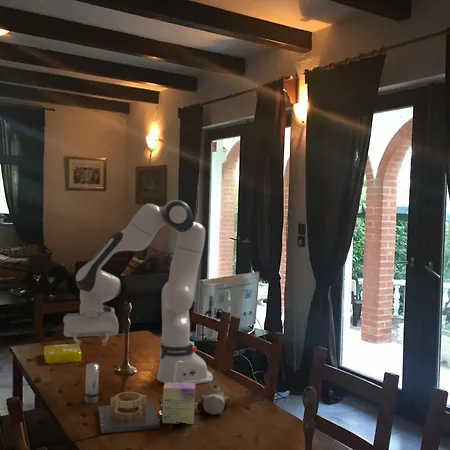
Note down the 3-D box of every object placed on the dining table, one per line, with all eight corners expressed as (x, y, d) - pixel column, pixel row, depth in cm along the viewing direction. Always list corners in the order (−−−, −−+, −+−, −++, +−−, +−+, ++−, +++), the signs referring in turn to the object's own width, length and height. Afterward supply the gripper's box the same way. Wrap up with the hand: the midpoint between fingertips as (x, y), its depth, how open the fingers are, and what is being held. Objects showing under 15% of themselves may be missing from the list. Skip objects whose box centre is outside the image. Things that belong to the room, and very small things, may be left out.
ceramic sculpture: (198, 390, 179) (201, 378, 194) (196, 416, 179) (200, 402, 193) (229, 392, 178) (231, 379, 193) (228, 418, 178) (229, 403, 193)
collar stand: (151, 406, 186) (152, 385, 185) (159, 428, 168) (160, 405, 168) (98, 410, 181) (99, 388, 180) (101, 433, 164) (101, 409, 163)
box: (194, 417, 178) (195, 382, 178) (194, 424, 172) (195, 388, 172) (163, 416, 178) (164, 381, 177) (161, 423, 172) (162, 387, 172)
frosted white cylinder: (98, 398, 192) (98, 362, 191) (98, 403, 187) (99, 366, 187) (84, 399, 190) (85, 363, 190) (85, 403, 186) (85, 367, 185)
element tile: (77, 352, 246) (78, 342, 246) (81, 362, 233) (82, 351, 232) (43, 355, 241) (43, 344, 241) (45, 365, 227) (45, 354, 227)
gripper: (63, 309, 203) (62, 341, 194) (118, 308, 208) (119, 339, 199) (63, 318, 207) (62, 350, 198) (117, 317, 213) (118, 348, 204)
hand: (91, 345), depth 199 cm, fingers open, 8 cm apart
